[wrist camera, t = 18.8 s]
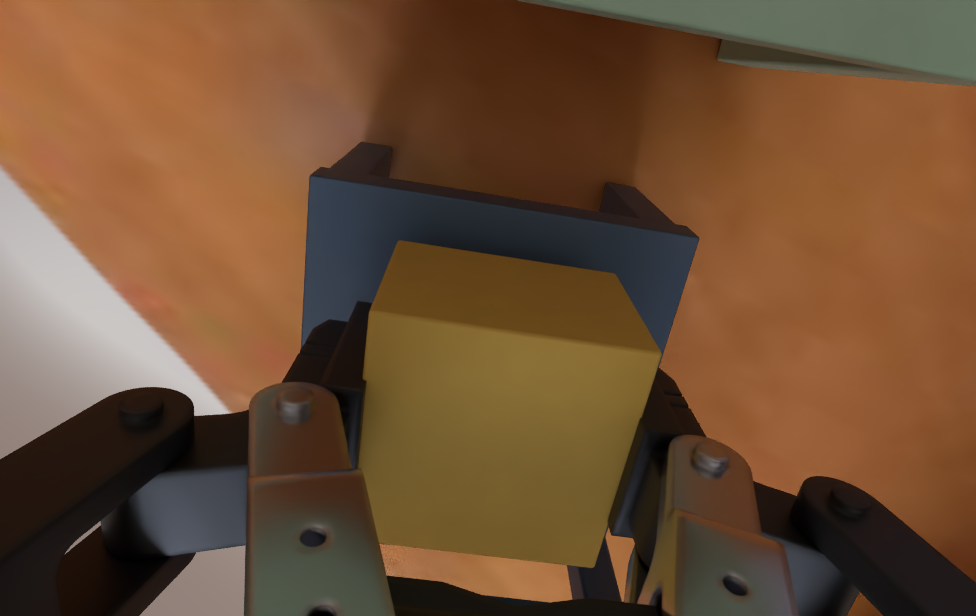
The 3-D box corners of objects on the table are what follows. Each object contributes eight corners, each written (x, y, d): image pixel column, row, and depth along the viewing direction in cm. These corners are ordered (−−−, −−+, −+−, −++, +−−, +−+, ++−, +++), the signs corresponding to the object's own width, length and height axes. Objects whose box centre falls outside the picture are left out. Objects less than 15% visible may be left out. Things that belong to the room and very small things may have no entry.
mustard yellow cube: (568, 450, 15) (594, 569, 11) (376, 425, 14) (345, 541, 11) (616, 272, 13) (664, 353, 9) (397, 238, 12) (367, 310, 9)
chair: (571, 441, 23) (699, 994, 10) (336, 410, 23) (121, 959, 9) (640, 184, 19) (1012, 510, 6) (357, 137, 19) (36, 384, 5)
